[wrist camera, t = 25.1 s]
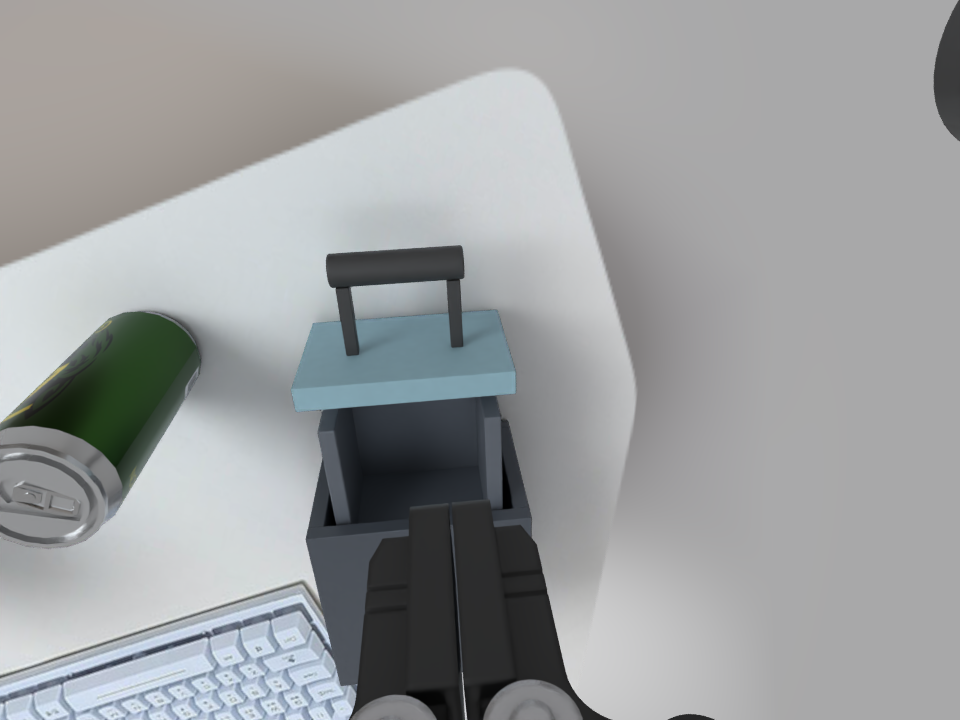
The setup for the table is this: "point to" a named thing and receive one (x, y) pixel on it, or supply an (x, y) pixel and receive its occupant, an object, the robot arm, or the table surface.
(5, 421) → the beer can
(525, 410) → the table surface
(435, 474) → the drawer
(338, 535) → the dark grey storage bin
